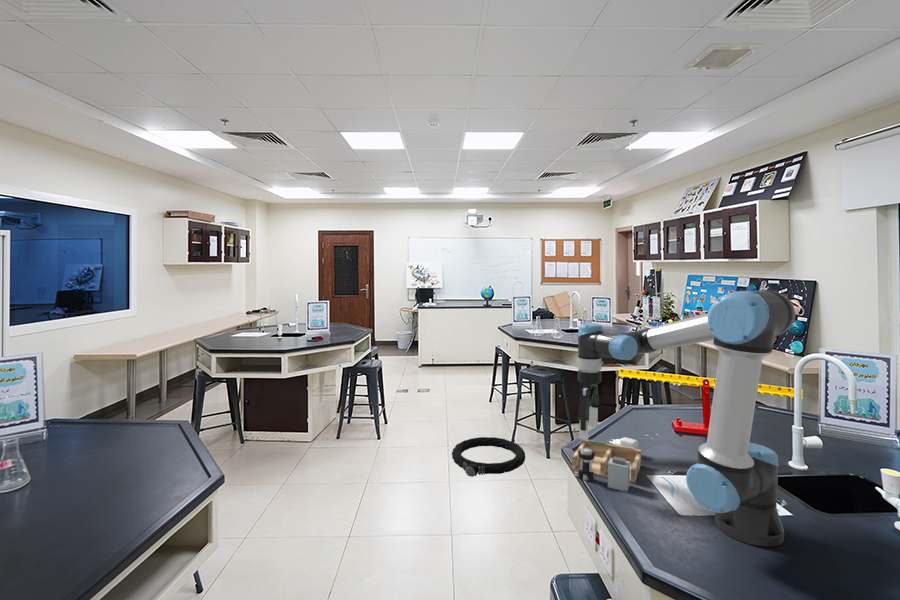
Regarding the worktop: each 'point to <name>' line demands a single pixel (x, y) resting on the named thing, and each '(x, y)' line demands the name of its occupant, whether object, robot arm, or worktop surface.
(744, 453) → the robot arm
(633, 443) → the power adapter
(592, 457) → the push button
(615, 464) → the block
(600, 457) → the divided wooden rack
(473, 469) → the cable lock
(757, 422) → the worktop surface
